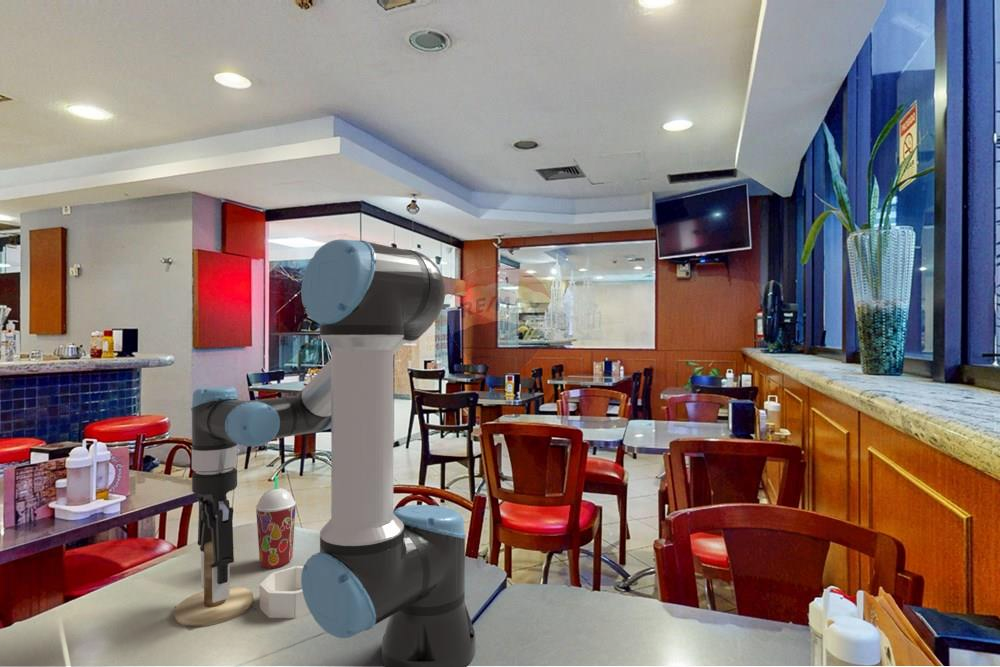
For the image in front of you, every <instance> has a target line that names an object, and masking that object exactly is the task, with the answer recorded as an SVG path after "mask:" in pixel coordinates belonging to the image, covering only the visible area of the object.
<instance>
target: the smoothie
mask: <svg viewBox="0 0 1000 667" xmlns="http://www.w3.org/2000/svg"><path fill="white" fill-rule="evenodd" d="M278 478H279V477H278V475H275V476H274V488H273V487H272V488H271V489H269V490H267V491H266V492H264V493H263V494H262V495H261V497H260V498H259V500H258V502H257V504H256V505H255V510H256V511H255V512H256V513H255V514H256V527H257V542H258V556H259V557H258V558H259V563H260V565H261V566H262V568H265V569H277V568H283V567H285V566H287V565H288V564H290V562H291V560H293V559H292V558H293V556H294V554H293V552H294V535H295V524H296V523H295V520H296V504H297V501H296V500H295V498H294V497H293V495H292V494H291V492H290V491H289V490H287V489H285V488H281V487H279V486H278V484H279V483H278Z"/></svg>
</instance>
